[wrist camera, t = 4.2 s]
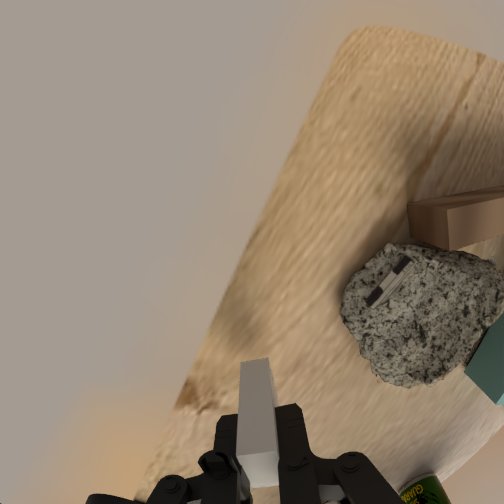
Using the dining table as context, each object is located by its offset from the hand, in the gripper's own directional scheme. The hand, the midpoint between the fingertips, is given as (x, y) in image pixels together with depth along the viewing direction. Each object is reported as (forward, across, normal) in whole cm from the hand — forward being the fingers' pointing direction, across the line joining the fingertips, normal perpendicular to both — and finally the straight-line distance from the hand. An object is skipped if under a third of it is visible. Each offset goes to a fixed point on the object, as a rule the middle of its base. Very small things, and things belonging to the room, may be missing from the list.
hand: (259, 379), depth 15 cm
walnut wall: (+2, +24, +6) cm, 25 cm away
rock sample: (+2, +9, +1) cm, 10 cm away
